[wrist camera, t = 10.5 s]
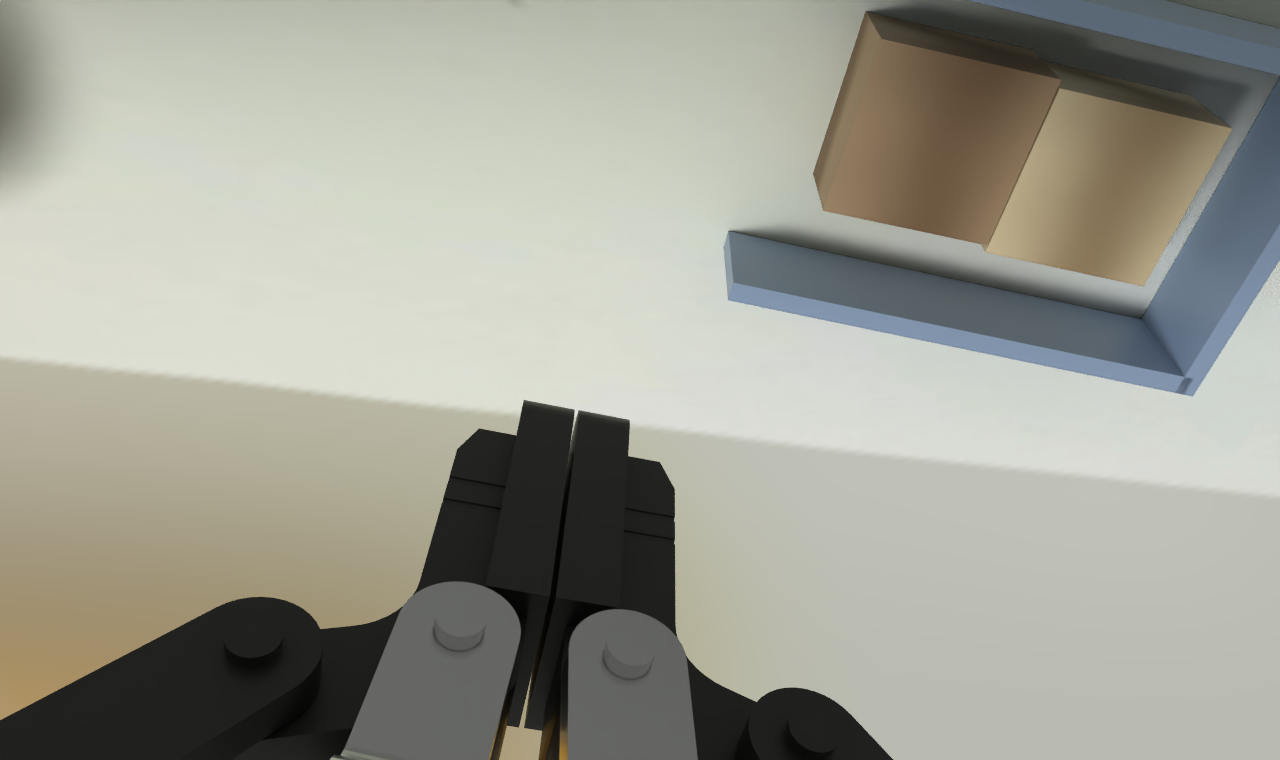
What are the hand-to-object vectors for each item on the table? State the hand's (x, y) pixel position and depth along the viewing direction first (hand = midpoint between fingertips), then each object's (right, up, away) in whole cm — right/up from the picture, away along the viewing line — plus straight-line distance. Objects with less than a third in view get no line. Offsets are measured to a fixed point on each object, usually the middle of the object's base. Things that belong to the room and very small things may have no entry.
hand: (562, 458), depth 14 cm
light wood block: (+14, +8, +17) cm, 24 cm away
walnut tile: (+9, +9, +16) cm, 21 cm away
